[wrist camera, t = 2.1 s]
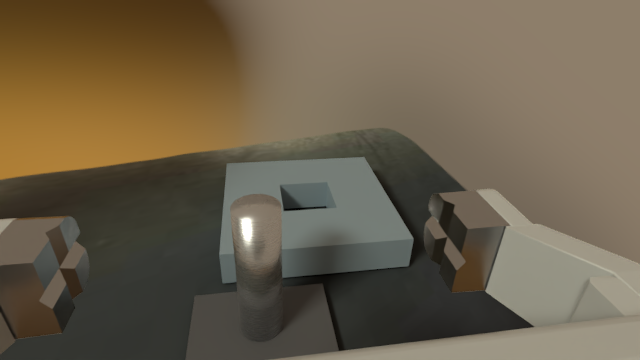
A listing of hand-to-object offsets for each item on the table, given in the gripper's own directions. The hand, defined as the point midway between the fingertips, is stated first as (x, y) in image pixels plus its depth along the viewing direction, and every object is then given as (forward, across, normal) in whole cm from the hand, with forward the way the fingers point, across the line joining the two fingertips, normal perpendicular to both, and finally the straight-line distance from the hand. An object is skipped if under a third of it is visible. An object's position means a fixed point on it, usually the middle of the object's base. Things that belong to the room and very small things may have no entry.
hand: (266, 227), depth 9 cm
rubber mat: (+12, 0, -18) cm, 22 cm away
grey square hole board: (+25, +4, -18) cm, 31 cm away
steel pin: (+12, 0, -17) cm, 21 cm away
